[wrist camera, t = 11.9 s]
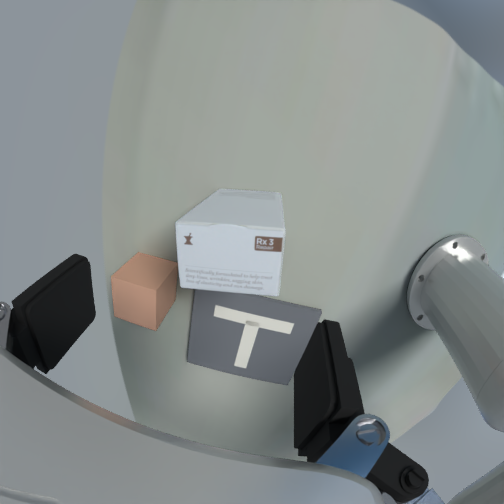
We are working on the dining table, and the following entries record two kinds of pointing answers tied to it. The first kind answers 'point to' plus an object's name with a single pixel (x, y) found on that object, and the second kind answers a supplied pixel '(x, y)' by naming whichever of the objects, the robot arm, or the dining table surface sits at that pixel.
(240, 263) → the skincare box
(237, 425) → the dining table surface
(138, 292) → the block
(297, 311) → the letter mat
